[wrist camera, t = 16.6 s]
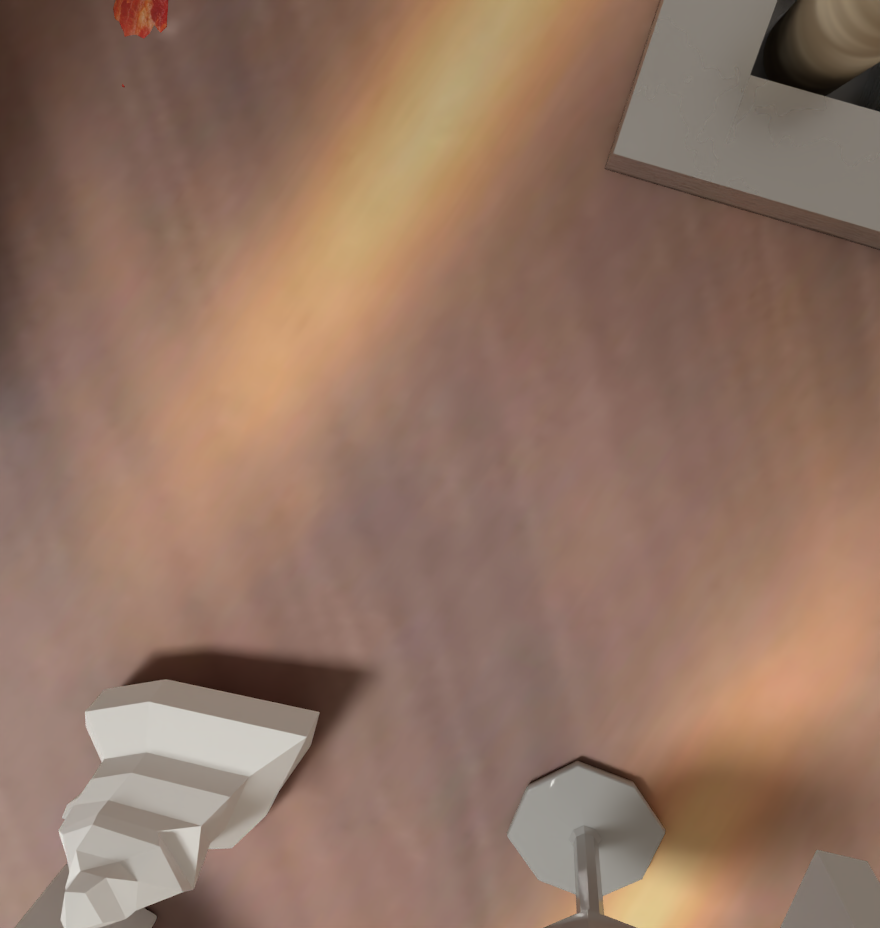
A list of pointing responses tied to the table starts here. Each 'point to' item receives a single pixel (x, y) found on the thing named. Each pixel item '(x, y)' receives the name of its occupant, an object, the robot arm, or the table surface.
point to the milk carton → (45, 913)
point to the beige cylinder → (823, 44)
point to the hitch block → (750, 124)
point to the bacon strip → (141, 16)
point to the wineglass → (586, 837)
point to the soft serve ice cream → (171, 791)
